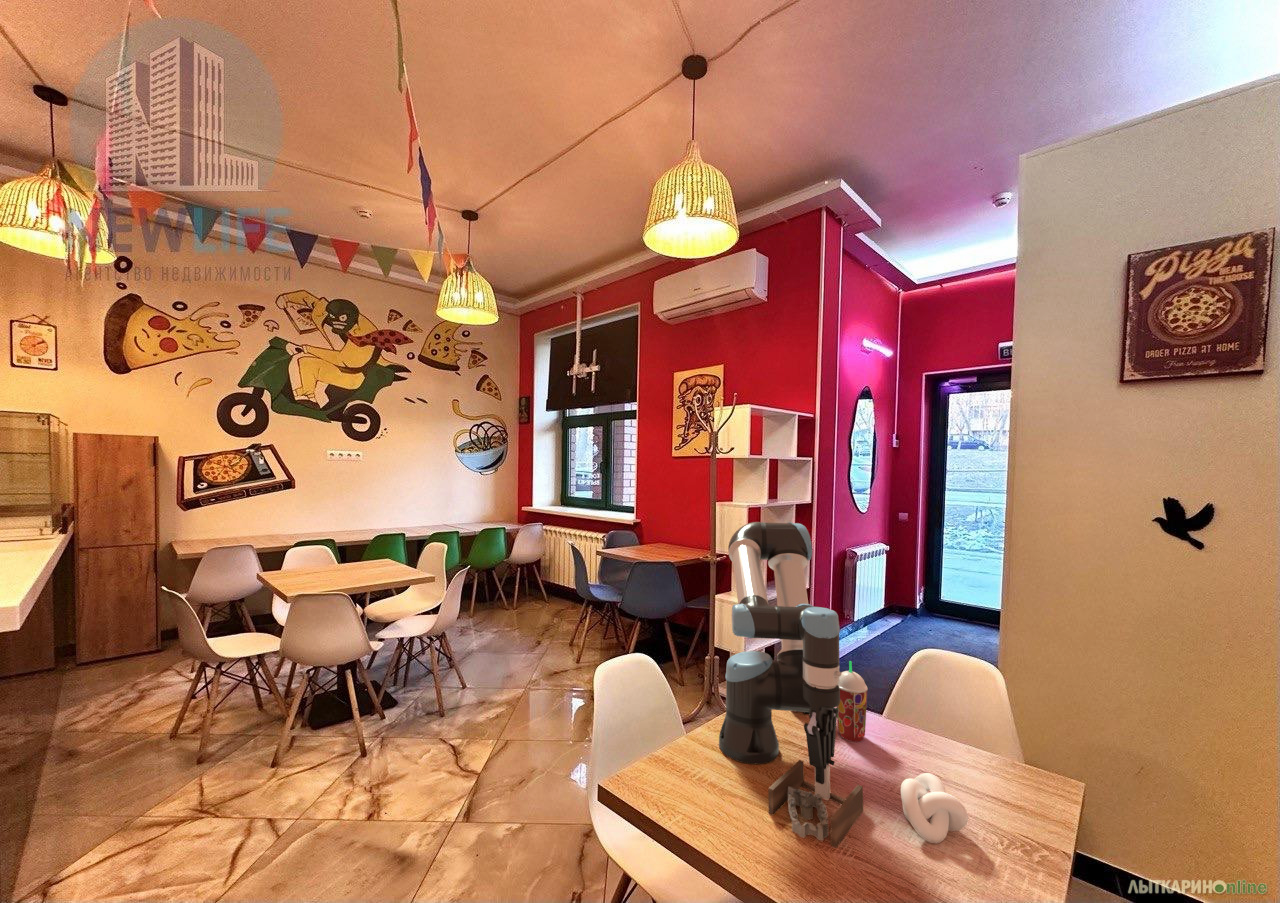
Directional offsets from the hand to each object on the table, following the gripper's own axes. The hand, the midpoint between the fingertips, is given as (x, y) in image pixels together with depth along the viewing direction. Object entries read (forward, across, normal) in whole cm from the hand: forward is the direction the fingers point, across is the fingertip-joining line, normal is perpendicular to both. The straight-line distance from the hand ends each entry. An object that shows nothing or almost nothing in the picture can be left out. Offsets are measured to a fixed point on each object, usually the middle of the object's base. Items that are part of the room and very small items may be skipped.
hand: (822, 796), depth 104 cm
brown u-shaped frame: (+2, -3, 0) cm, 4 cm away
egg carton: (+2, -7, 0) cm, 7 cm away
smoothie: (+2, +34, +6) cm, 34 cm away
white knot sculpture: (+2, +9, -18) cm, 20 cm away
